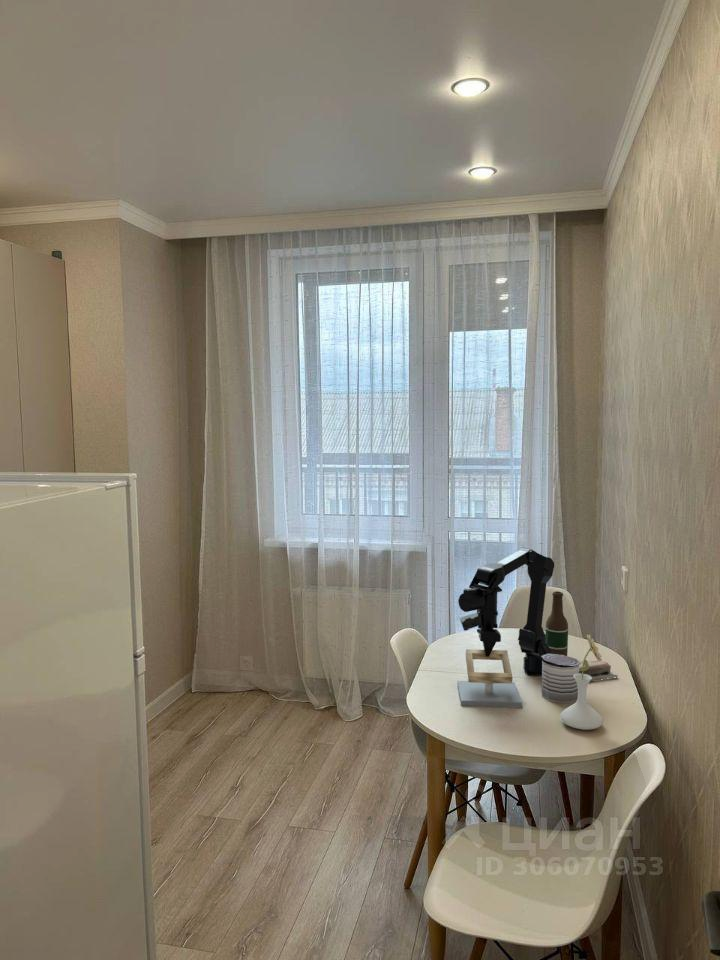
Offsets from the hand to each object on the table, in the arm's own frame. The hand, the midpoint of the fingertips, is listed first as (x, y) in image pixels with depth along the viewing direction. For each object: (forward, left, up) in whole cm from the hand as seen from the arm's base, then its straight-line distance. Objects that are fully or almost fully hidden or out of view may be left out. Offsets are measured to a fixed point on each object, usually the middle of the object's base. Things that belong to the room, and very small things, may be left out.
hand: (486, 655), depth 220 cm
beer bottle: (-28, -30, -11) cm, 43 cm away
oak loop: (0, +5, -3) cm, 6 cm away
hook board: (0, +8, -11) cm, 13 cm away
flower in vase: (-24, +25, -11) cm, 36 cm away
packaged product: (-34, -13, -11) cm, 38 cm away
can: (-22, +5, -11) cm, 25 cm away
